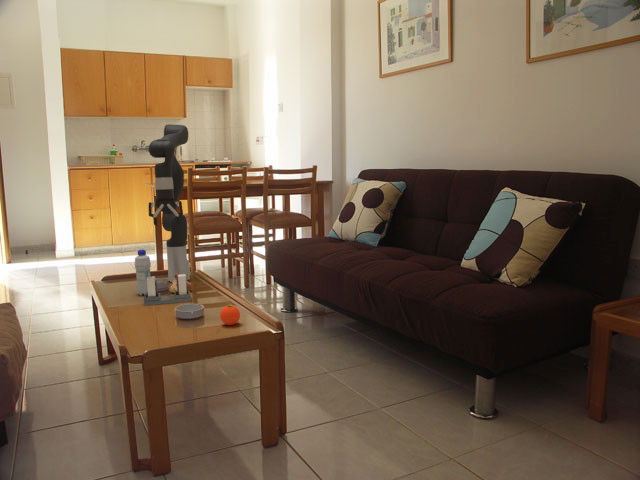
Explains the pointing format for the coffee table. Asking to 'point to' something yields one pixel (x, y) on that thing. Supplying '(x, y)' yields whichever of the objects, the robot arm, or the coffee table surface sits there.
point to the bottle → (142, 271)
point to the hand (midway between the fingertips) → (166, 225)
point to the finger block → (181, 284)
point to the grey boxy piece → (155, 297)
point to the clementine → (230, 315)
